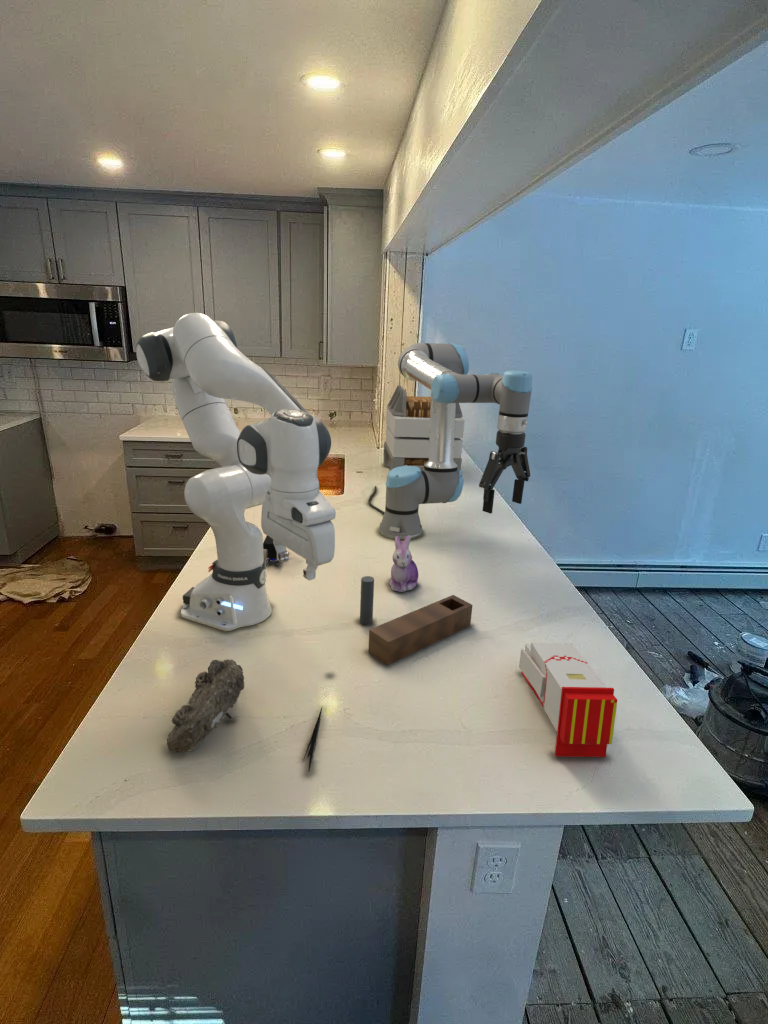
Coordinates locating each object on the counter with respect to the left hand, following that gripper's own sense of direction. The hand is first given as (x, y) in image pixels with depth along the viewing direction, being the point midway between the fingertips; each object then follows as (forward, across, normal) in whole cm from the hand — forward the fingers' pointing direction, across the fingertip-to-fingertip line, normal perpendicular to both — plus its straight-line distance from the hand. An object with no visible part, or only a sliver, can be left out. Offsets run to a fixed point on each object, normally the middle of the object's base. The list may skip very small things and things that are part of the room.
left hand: (295, 569), depth 108 cm
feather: (+27, +11, -2) cm, 29 cm away
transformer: (+27, -104, +135) cm, 173 cm away
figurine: (+27, -21, +49) cm, 60 cm away
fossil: (+27, -2, -18) cm, 32 cm away
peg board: (+27, +2, +34) cm, 44 cm away
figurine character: (+27, -58, +29) cm, 70 cm away
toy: (+27, +37, +38) cm, 60 cm away
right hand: (+3, -6, +70) cm, 71 cm away
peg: (+27, -12, +28) cm, 41 cm away
